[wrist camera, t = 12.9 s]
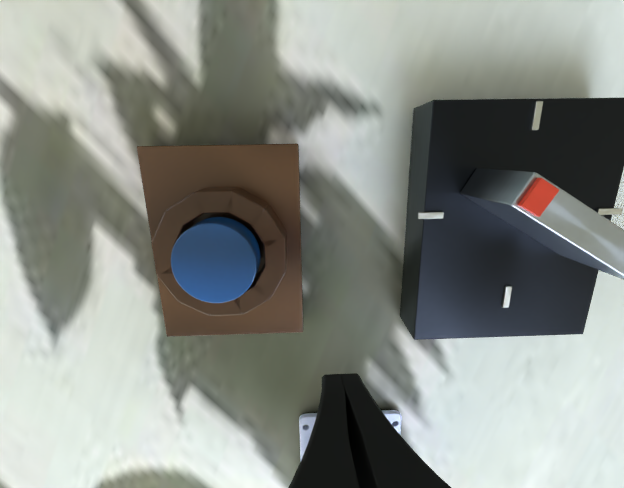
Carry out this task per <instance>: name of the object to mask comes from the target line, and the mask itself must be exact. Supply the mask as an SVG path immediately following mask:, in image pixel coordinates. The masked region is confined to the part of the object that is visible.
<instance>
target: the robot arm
mask: <svg viewBox="0 0 624 488" xmlns="http://www.w3.org/2000/svg"><path fill="white" fill-rule="evenodd" d="M394 421H396V422H394ZM401 421H402V417H401V414H400V412H399V411H398V410H381V409H380V408H379V407H378V405H377V404H376V402H375V401H374V399H373V398H372V396H371V395H370V393H369V392H368V390H367V388H366V387H365V385H364V383H363V382H362V380H361V378H360V376H359V375H358V374H332V375H324V376H323V377H322V392H321V398H320V404H319V408H318V412H317V413H305V414H302V415H301V416H300V418H299V428H300V458H301V462H300V465H299V467H298V469H297V471H296V473H295V476H294V478H293V480H292V482H291V484H290V486H289V488H451V487H450V486H449V485H448V484H447V483H445V482H444V481H443V480H442V479H441V478H440V477H439V476H438V475H437V474H436V473H435V472H434V471H433V470H432V469H431V468H430V467H429V466H428V465H427V464H426V463H425V462H424V461H423V460H422V459H421V458H420V457H419V456H418V455H417V454H416V453H415V452H414V451H413V449H412V448H411V447H410V446H409V445H408V444H407V443H406V441H405V440H404V439H403V438H402V437H401V436H400V434H401ZM304 425H308V426H304Z"/></svg>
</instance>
